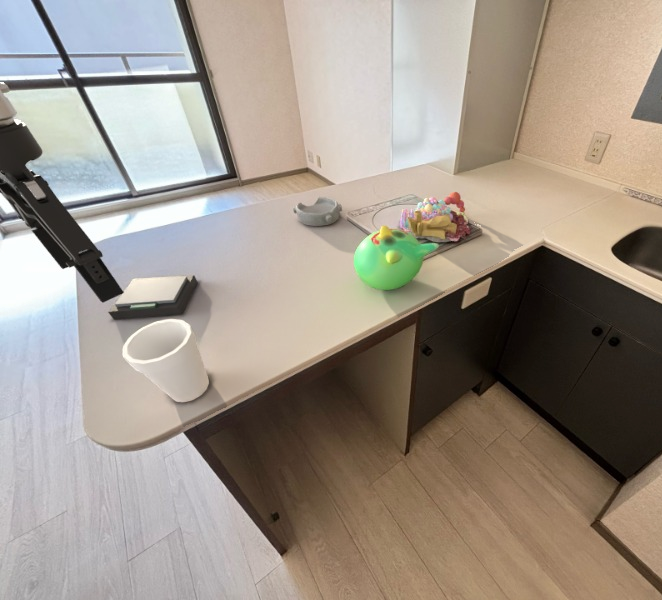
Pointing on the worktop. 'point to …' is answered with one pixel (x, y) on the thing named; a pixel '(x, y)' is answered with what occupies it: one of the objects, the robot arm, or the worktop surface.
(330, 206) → the dish
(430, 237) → the candy landscape model
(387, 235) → the toy bird
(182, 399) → the foam cup
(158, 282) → the scale
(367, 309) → the worktop surface
